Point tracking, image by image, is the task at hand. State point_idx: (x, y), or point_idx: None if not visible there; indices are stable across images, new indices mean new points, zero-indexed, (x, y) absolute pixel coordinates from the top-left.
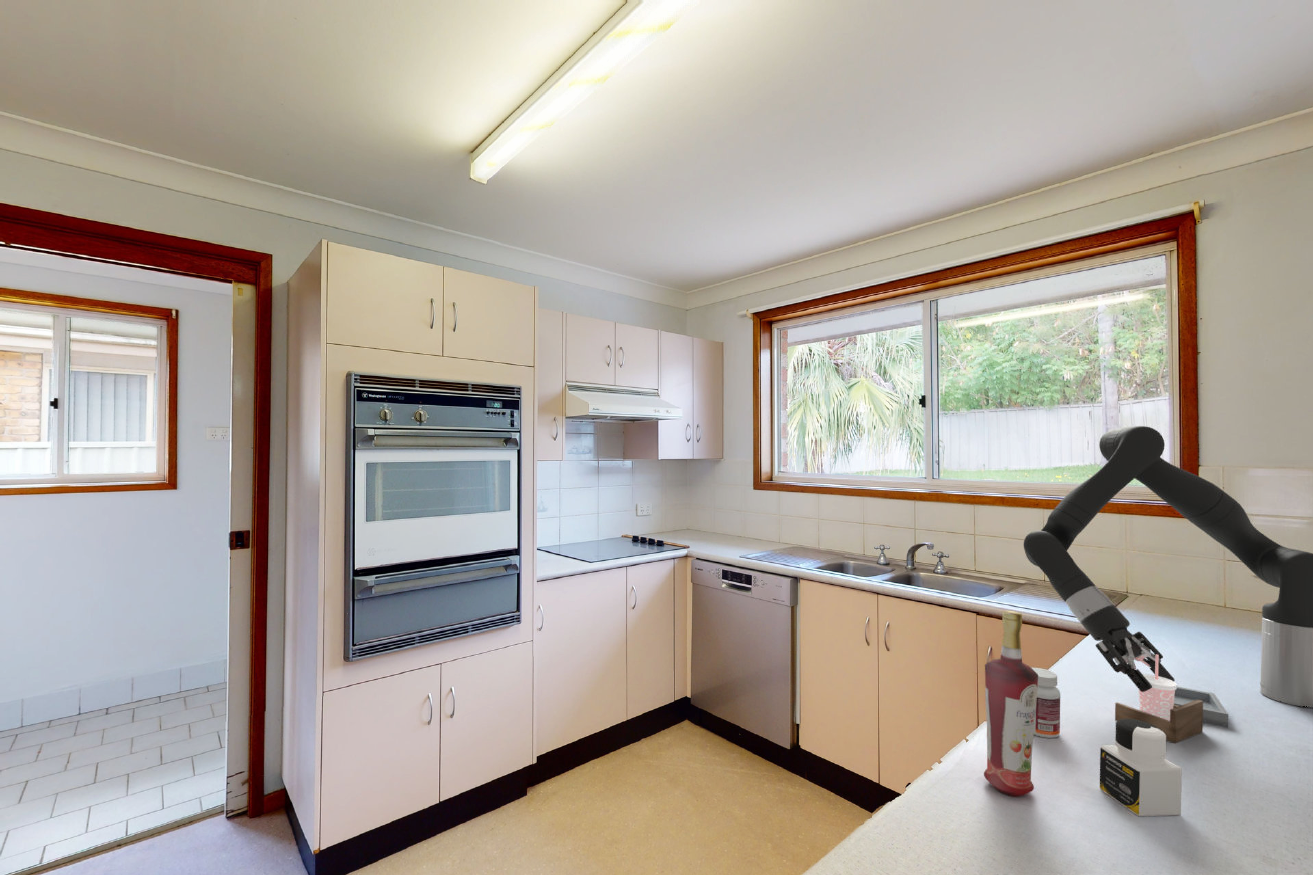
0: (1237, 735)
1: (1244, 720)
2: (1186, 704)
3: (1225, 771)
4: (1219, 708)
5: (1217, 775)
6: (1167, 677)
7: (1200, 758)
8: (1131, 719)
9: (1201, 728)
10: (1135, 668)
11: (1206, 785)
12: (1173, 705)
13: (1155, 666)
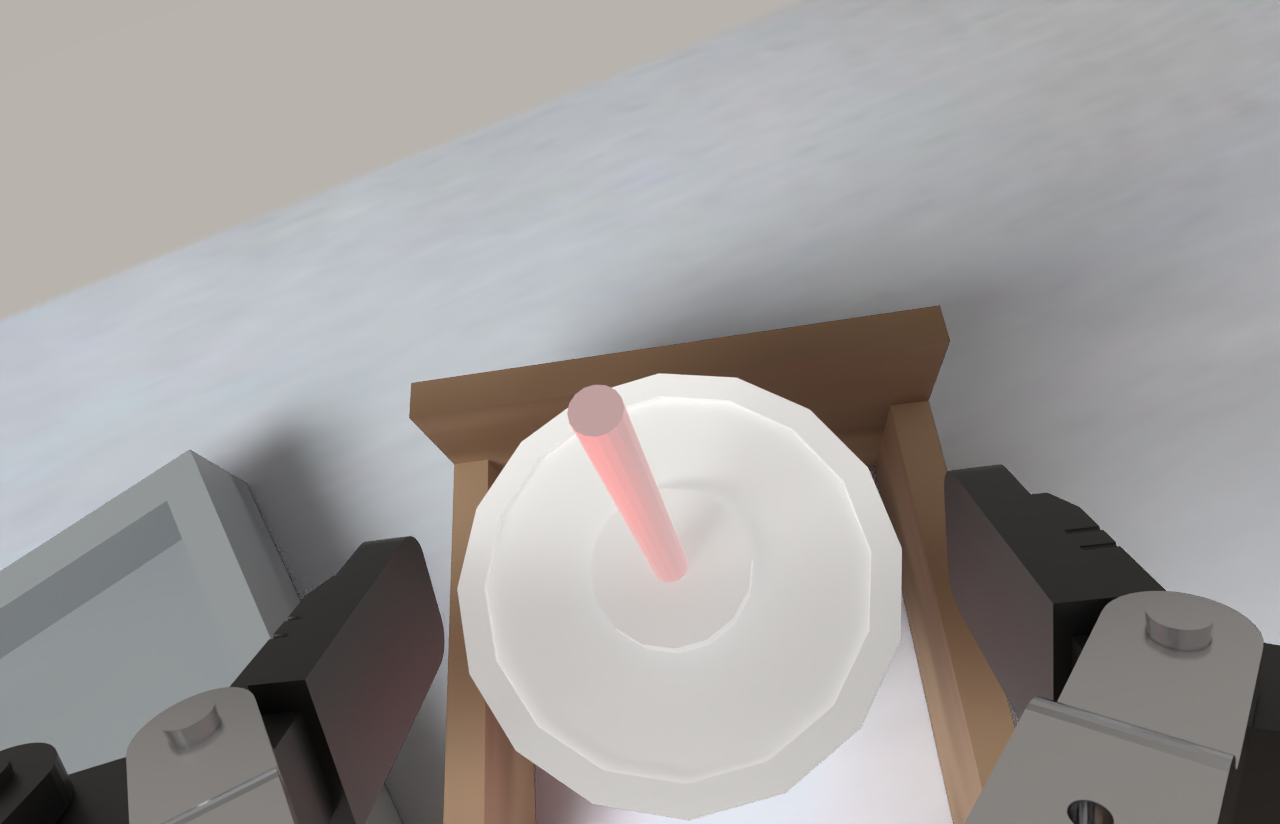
0: (347, 397)
1: (28, 512)
2: (654, 374)
3: (962, 160)
4: (110, 532)
5: (1063, 142)
6: (403, 590)
7: (947, 272)
8: None
9: None
10: (1137, 600)
11: (1255, 93)
12: None
13: (656, 518)
